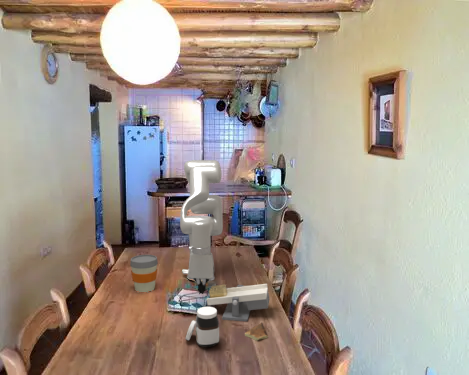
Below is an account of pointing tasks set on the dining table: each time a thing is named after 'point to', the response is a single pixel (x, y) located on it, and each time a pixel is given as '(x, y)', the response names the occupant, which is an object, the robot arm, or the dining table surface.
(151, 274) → the reusable coffee cup
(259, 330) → the shard
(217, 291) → the block
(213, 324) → the spread jar
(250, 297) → the beam
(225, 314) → the balance stand
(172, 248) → the dining table surface
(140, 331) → the dining table surface
